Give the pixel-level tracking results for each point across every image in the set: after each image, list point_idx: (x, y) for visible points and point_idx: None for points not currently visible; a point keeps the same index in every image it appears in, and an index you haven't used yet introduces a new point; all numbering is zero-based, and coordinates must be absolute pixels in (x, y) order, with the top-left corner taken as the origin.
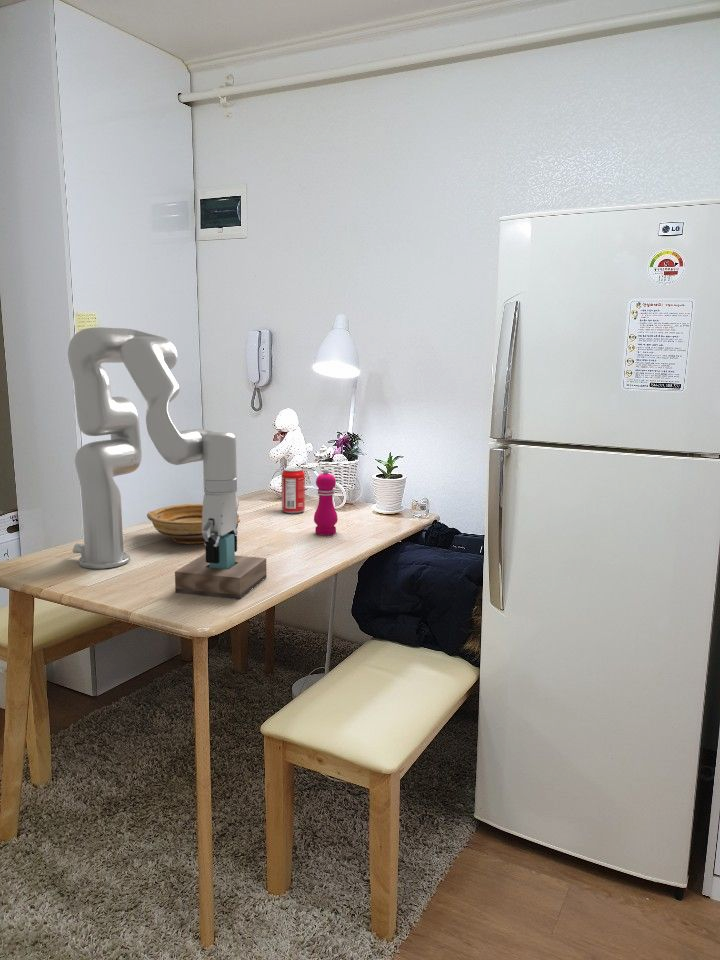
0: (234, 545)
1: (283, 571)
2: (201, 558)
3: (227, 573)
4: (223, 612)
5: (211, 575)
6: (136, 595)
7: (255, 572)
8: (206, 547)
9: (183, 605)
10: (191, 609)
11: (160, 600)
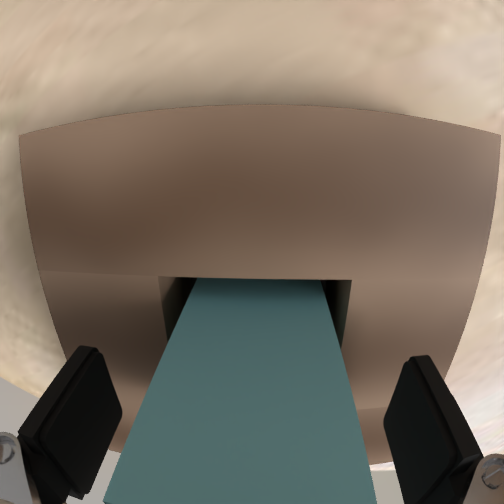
0: (395, 453)
1: None
2: (369, 149)
3: (124, 413)
4: (38, 370)
5: (67, 357)
6: (32, 16)
7: None
8: (28, 427)
9: (9, 243)
10: (3, 283)
11: (9, 134)
